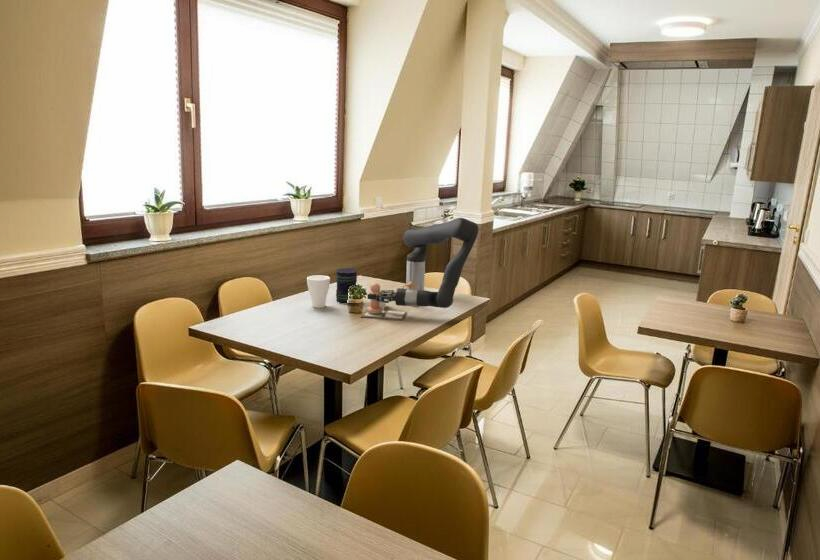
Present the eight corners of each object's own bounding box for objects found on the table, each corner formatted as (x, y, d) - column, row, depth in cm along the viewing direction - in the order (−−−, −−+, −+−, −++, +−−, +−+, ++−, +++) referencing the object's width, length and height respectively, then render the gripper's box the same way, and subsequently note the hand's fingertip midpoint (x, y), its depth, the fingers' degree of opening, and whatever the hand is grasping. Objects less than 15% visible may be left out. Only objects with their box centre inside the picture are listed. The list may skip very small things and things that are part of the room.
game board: (366, 310, 269) (366, 308, 269) (406, 312, 266) (406, 311, 266) (360, 317, 258) (360, 315, 257) (402, 320, 255) (402, 318, 255)
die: (373, 305, 278) (373, 292, 276) (385, 306, 277) (386, 293, 275) (370, 308, 272) (370, 295, 270) (383, 309, 271) (383, 296, 270)
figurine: (419, 304, 281) (420, 279, 279) (418, 307, 276) (418, 282, 273) (402, 303, 283) (403, 278, 280) (400, 306, 277) (401, 281, 274)
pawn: (369, 309, 266) (369, 280, 263) (383, 310, 265) (383, 281, 262) (366, 313, 260) (366, 284, 257) (380, 314, 259) (380, 285, 256)
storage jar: (340, 297, 289) (340, 267, 286) (359, 299, 287) (359, 269, 284) (332, 302, 280) (332, 271, 277) (352, 304, 278) (352, 273, 274)
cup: (322, 310, 267) (322, 281, 264) (302, 307, 270) (302, 278, 267) (334, 304, 276) (334, 276, 273) (314, 302, 280) (314, 274, 277)
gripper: (409, 285, 265) (372, 283, 267) (404, 293, 251) (365, 290, 253) (409, 301, 266) (372, 299, 269) (404, 310, 253) (365, 307, 255)
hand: (369, 295), depth 261 cm, fingers closed on pawn, 4 cm apart
